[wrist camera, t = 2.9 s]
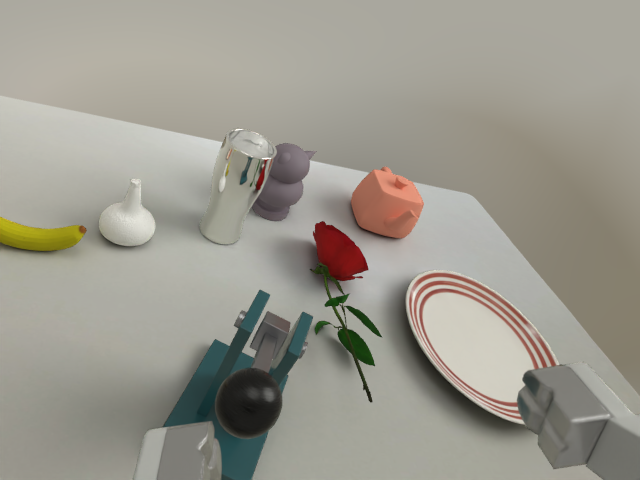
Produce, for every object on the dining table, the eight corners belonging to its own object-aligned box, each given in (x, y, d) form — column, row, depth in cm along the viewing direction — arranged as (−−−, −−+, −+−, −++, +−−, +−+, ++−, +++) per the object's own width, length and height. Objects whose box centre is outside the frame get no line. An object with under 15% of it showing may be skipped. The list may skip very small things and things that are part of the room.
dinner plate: (424, 421, 50) (440, 408, 48) (382, 264, 71) (392, 251, 69) (583, 445, 59) (602, 435, 57) (504, 299, 79) (516, 288, 77)
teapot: (389, 203, 88) (415, 164, 82) (414, 262, 75) (447, 221, 69) (342, 189, 84) (366, 147, 78) (360, 249, 71) (390, 204, 65)
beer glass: (230, 254, 57) (266, 166, 48) (186, 230, 57) (214, 137, 48) (250, 230, 63) (286, 147, 54) (210, 207, 62) (239, 121, 54)
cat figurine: (273, 189, 73) (298, 131, 66) (301, 217, 71) (330, 160, 64) (235, 196, 67) (259, 134, 60) (264, 228, 64) (293, 166, 57)
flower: (426, 365, 40) (348, 200, 63) (333, 387, 39) (288, 211, 62) (419, 411, 46) (350, 245, 69) (338, 431, 45) (295, 255, 68)
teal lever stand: (244, 491, 36) (311, 413, 28) (151, 447, 36) (190, 353, 27) (284, 380, 46) (342, 297, 37) (212, 345, 45) (254, 252, 37)
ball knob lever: (259, 465, 21) (291, 405, 20) (194, 434, 21) (226, 373, 20) (281, 356, 35) (301, 320, 35) (244, 337, 35) (263, 300, 34)
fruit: (-31, 246, 42) (-36, 209, 39) (-24, 232, 43) (-27, 195, 41) (82, 260, 46) (85, 228, 43) (85, 246, 48) (89, 215, 45)
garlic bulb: (99, 251, 48) (106, 199, 44) (96, 215, 52) (102, 164, 47) (155, 251, 52) (168, 203, 47) (148, 218, 55) (159, 170, 51)
